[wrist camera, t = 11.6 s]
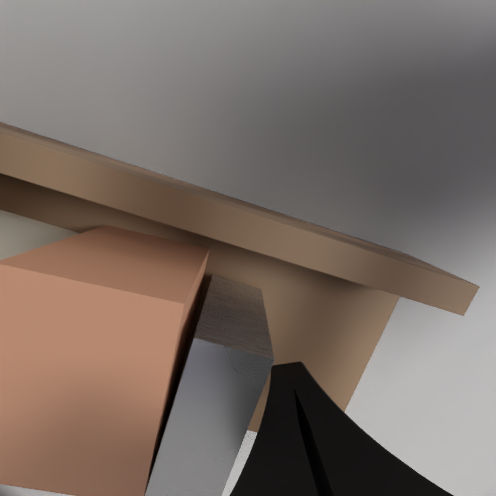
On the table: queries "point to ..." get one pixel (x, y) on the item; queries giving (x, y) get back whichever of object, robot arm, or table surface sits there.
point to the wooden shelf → (237, 254)
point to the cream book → (26, 234)
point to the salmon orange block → (93, 358)
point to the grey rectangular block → (215, 393)
